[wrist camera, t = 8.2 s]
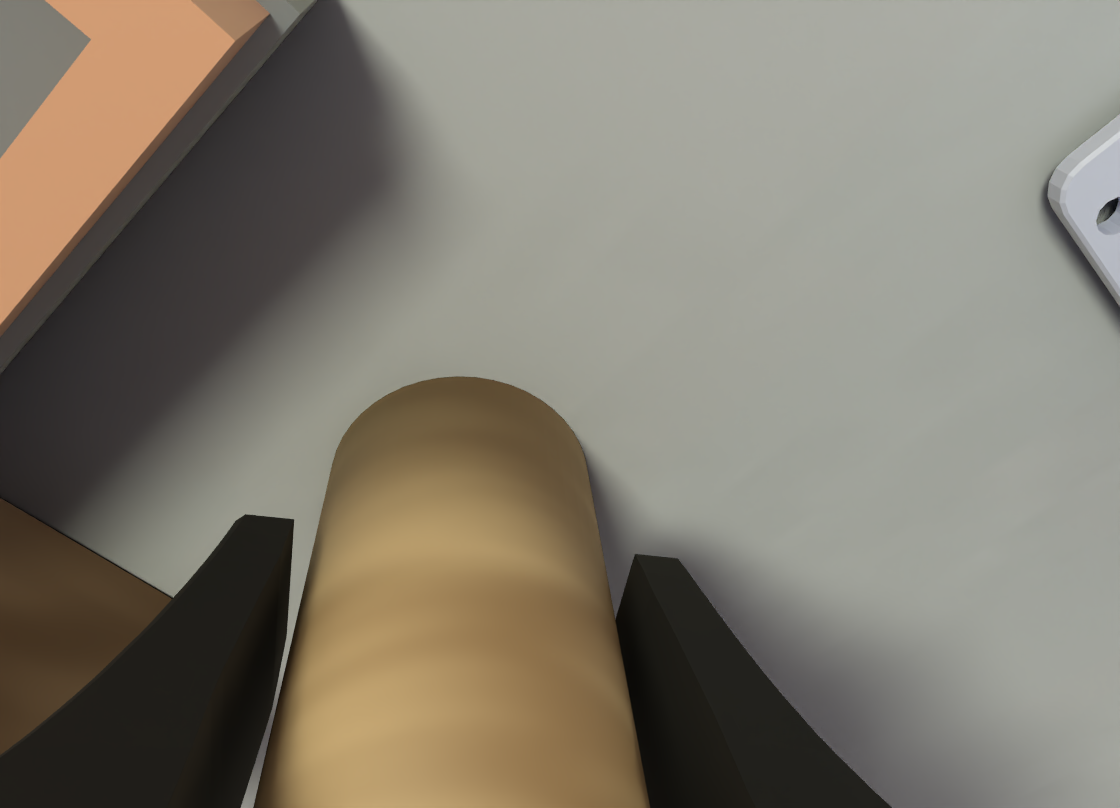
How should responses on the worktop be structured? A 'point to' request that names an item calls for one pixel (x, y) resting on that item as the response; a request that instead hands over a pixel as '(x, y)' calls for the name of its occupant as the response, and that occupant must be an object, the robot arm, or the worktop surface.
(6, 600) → the walnut wall
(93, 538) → the worktop surface
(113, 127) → the base
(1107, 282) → the robot arm
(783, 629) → the worktop surface
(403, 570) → the oak dowel
